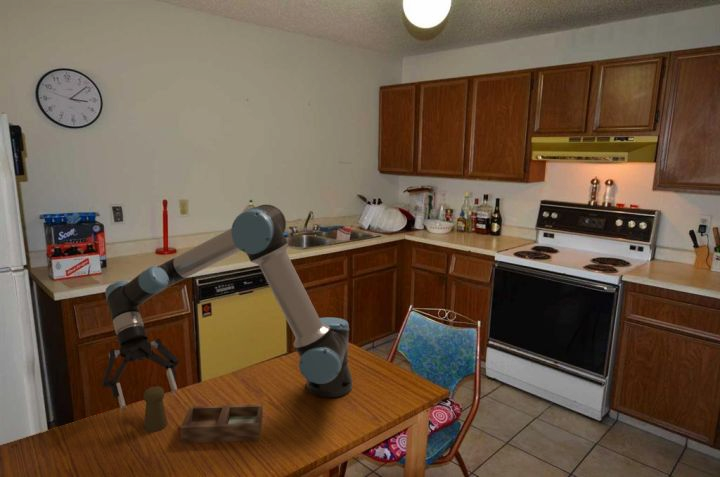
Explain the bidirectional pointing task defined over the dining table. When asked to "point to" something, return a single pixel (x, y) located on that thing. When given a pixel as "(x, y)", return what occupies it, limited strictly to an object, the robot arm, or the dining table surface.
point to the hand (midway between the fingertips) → (150, 399)
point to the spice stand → (222, 423)
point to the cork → (154, 410)
